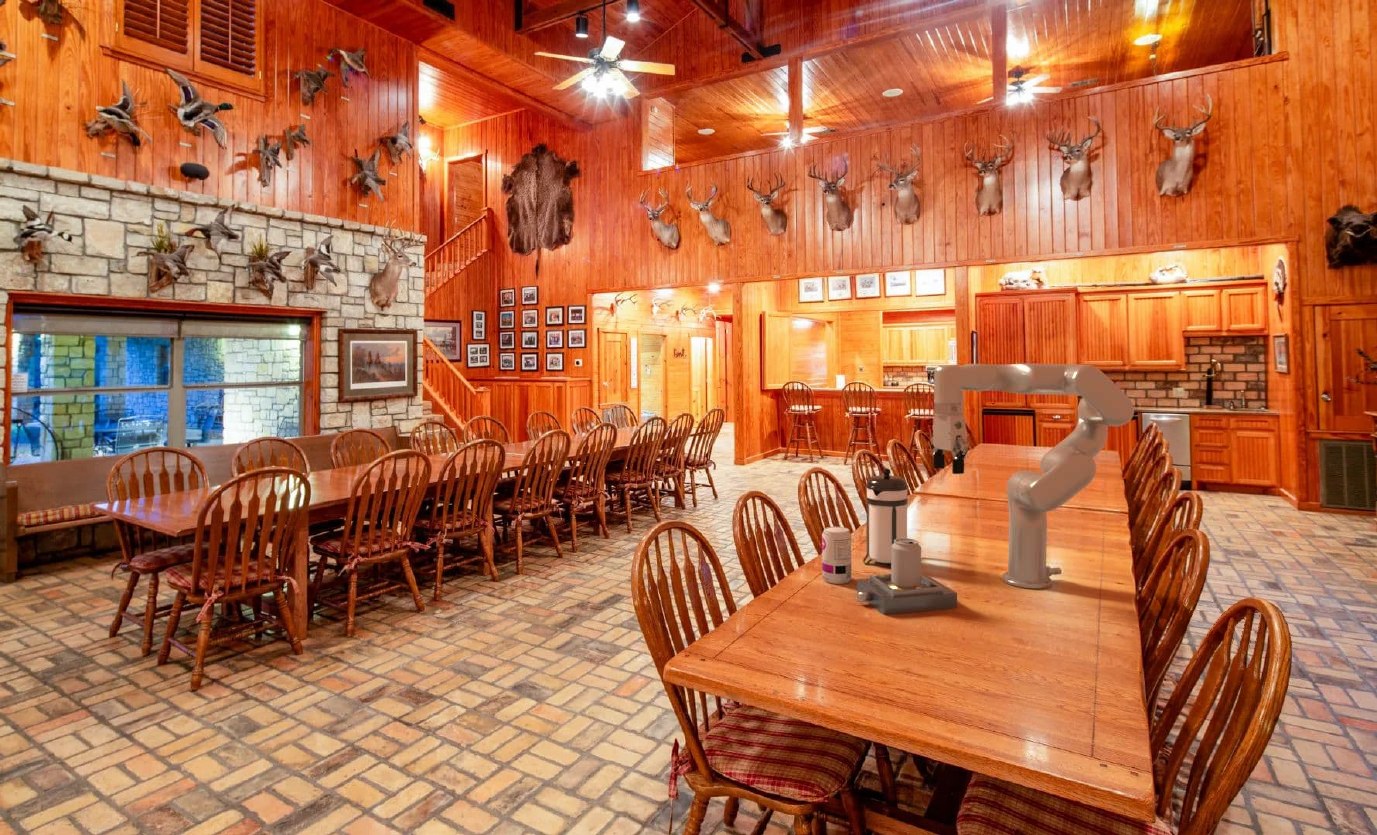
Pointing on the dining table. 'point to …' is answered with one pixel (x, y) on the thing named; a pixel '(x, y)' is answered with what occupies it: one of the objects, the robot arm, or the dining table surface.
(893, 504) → the coffee press
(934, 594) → the gearbox
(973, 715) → the dining table surface
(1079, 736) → the dining table surface
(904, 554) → the can
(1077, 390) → the robot arm
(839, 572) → the supplement can
